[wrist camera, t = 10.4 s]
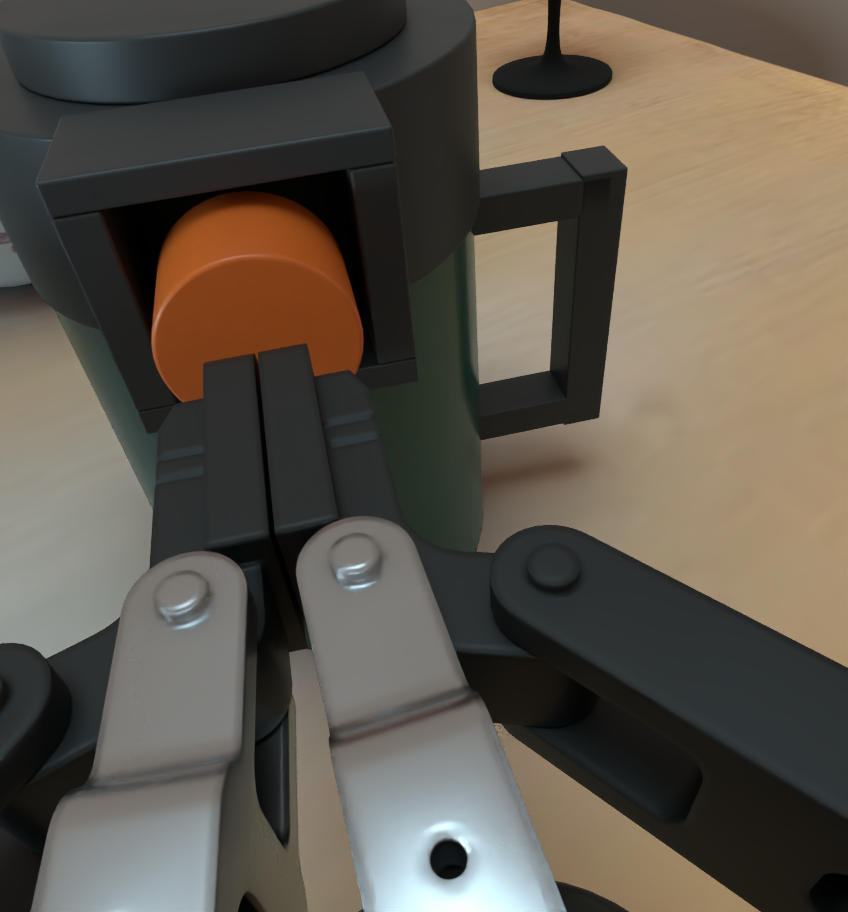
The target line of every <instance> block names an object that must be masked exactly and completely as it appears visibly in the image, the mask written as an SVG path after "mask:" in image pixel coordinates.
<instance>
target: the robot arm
mask: <svg viewBox="0 0 848 912" xmlns="http://www.w3.org/2000/svg"><path fill="white" fill-rule="evenodd" d="M157 460H158V462H157V463H156V475H155V480H156V485H155V491H154V507H153V523H152V539H151V555H150V568H149V570H148V571H147V572H146V573H145V574H143V575H142V576H141V577H140V578H139V579H138V581H137V582H136V583H135V584H134V585H133V587H132V588H131V590H130V591H129V592H128V594H127V596H126V599H125V601H124V604H123V607H122V611H121V616H120V618H118V619H117V620H116V621H115V622H113V623H112V624H111V625H109V626H108V627H106V628H105V629H103V630H101V631H100V632H98V633H96V634H94V635H93V636H91V637H89V638H87V639H85V640H83V641H81V642H79V643H77V644H75V645H73V646H71V647H69V648H67V649H65V650H63V651H61V652H59V653H57V654H55V655H53V656H51V657H49V658H47V659H45V658H44V657H43V656H42V654H41V653H40V652H38V651H37V650H35V649H34V648H32V647H29V646H27V645H24V644H17V643H2V644H0V912H308V909H307V900H306V893H305V887H304V882H303V878H302V873H301V868H300V860H299V848H298V801H297V747H296V707H295V701H294V698H293V695H292V677H291V667H290V657H289V652H292V651H296V650H301V649H305V648H308V644H307V636H306V628H305V624H306V627H307V630H308V633H309V637H310V642H311V646H312V651H313V656H314V660H315V665H316V669H317V674H318V679H319V683H320V688H321V692H322V697H323V702H324V706H325V711H326V715H327V720H328V725H329V731H330V737H329V745H330V752H331V758H332V763H333V768H334V773H335V777H336V782H337V787H338V792H339V796H340V801H341V806H342V810H343V815H344V820H345V824H346V829H347V834H348V838H349V843H350V848H351V852H352V857H353V862H354V867H355V871H356V876H357V881H358V885H359V890H360V895H361V899H362V904H363V909H362V910H360V911H359V912H629V911H627V910H625V909H624V908H622V907H621V906H619V905H618V904H616V903H614V902H612V901H610V900H608V899H606V898H604V897H601V896H599V895H597V894H595V893H593V892H591V891H588V890H585V889H582V888H579V887H576V886H573V885H570V884H567V883H563V882H557V881H555V880H554V878H553V875H552V872H551V870H550V867H549V865H548V862H547V860H546V857H545V855H544V852H543V849H542V847H541V844H540V842H539V839H538V837H537V834H536V832H535V829H534V826H533V824H532V821H531V819H530V816H529V814H528V811H527V809H526V806H525V803H524V801H523V798H522V796H521V793H520V791H519V788H518V786H517V783H516V780H515V778H514V775H513V773H512V770H511V768H510V765H509V763H508V760H507V757H506V755H505V752H504V750H503V747H502V745H501V742H500V739H499V737H498V734H497V732H496V729H495V727H494V724H493V723H501V724H502V725H503V727H504V728H505V729H506V730H507V731H508V732H509V733H510V734H511V735H512V736H514V737H515V738H516V739H517V740H519V741H520V742H522V743H523V744H525V745H526V746H527V747H529V748H530V749H532V750H533V751H534V752H536V753H537V754H539V755H540V756H542V757H543V758H544V759H546V760H547V761H549V762H550V763H551V764H553V765H554V766H556V767H557V768H558V769H560V770H561V771H563V772H564V773H566V774H567V775H568V776H570V777H571V778H573V779H574V780H575V781H577V782H578V783H580V784H581V785H583V786H584V787H585V788H587V789H588V790H590V791H591V792H592V793H594V794H595V795H597V796H598V797H599V798H601V799H602V800H604V801H605V802H607V803H608V804H609V805H611V806H612V807H614V808H615V809H616V810H618V811H619V812H621V813H622V814H623V815H625V816H626V817H628V818H629V819H631V820H632V821H633V822H635V823H636V824H638V825H639V826H640V827H642V828H643V829H645V830H646V831H648V832H649V833H650V834H652V835H653V836H655V837H656V838H657V839H659V840H660V841H662V842H663V843H664V844H666V845H667V846H669V847H670V848H672V849H673V850H674V851H676V852H677V853H679V854H680V855H681V856H683V857H684V858H686V859H687V860H689V861H690V862H691V863H693V864H694V865H696V866H697V867H698V868H700V869H701V870H703V871H704V872H705V873H707V874H708V875H710V876H711V877H713V878H714V879H715V880H717V881H718V882H720V883H721V884H722V885H724V886H725V887H727V888H728V889H729V890H731V891H732V892H734V893H735V894H737V895H738V896H739V897H741V898H742V899H744V900H745V901H746V902H748V903H749V904H751V905H752V906H754V907H755V908H756V909H758V910H759V911H761V912H848V668H847V667H845V666H843V665H841V664H839V663H837V662H835V661H833V660H831V659H829V658H827V657H825V656H824V655H822V654H820V653H818V652H816V651H814V650H812V649H810V648H808V647H806V646H804V645H802V644H800V643H798V642H796V641H794V640H792V639H790V638H788V637H786V636H785V635H783V634H781V633H779V632H777V631H775V630H773V629H771V628H769V627H767V626H765V625H763V624H761V623H759V622H757V621H755V620H753V619H751V618H749V617H748V616H746V615H744V614H742V613H740V612H738V611H736V610H734V609H732V608H730V607H728V606H726V605H724V604H722V603H720V602H718V601H716V600H714V599H712V598H710V597H709V596H707V595H705V594H703V593H701V592H699V591H697V590H695V589H693V588H691V587H689V586H687V585H685V584H683V583H681V582H679V581H677V580H675V579H673V578H671V577H670V576H668V575H666V574H664V573H662V572H660V571H658V570H656V569H654V568H652V567H650V566H648V565H646V564H644V563H642V562H640V561H638V560H636V559H634V558H633V557H631V556H629V555H627V554H625V553H623V552H621V551H619V550H617V549H615V548H613V547H611V546H609V545H607V544H605V543H603V542H601V541H599V540H597V539H595V538H594V537H592V536H590V535H588V534H586V533H583V532H581V531H579V530H576V529H573V528H569V527H565V526H558V525H542V526H534V527H531V528H527V529H524V530H522V531H519V532H517V533H515V534H513V535H512V536H510V537H509V538H507V539H506V540H505V541H504V542H503V543H502V544H501V545H500V546H499V548H498V549H497V550H496V552H495V553H483V552H465V551H456V550H450V549H446V548H442V547H439V546H437V545H434V544H432V543H430V542H428V541H426V540H424V539H423V538H422V537H420V536H419V535H418V534H416V533H415V532H414V531H413V530H412V528H411V527H410V526H409V525H408V523H407V522H406V520H405V518H404V515H403V513H402V510H401V506H400V502H399V499H398V495H397V491H396V487H395V484H394V480H393V476H392V473H391V469H390V465H389V461H388V458H387V454H386V450H385V447H384V443H383V439H382V436H381V432H380V428H379V424H378V421H377V418H376V413H375V409H374V406H373V402H372V398H371V395H370V391H369V388H368V387H367V386H366V385H365V384H364V383H363V382H362V381H361V380H359V379H358V378H357V377H356V376H355V375H354V374H353V373H352V372H351V371H350V370H344V371H339V372H334V373H329V374H324V375H319V376H314V371H313V367H312V362H311V358H310V354H309V349H308V345H307V343H303V344H298V345H293V346H288V347H282V348H277V349H272V350H267V351H261V352H258V360H257V358H256V355H255V354H254V353H252V354H247V355H241V356H236V357H231V358H226V359H220V360H215V361H210V362H205V363H204V364H203V398H202V399H197V400H192V401H187V402H182V403H177V404H174V406H173V407H172V409H171V411H170V412H169V414H168V415H167V417H166V419H165V420H164V422H163V424H162V425H161V427H160V428H159V430H158V444H157Z"/></svg>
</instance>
